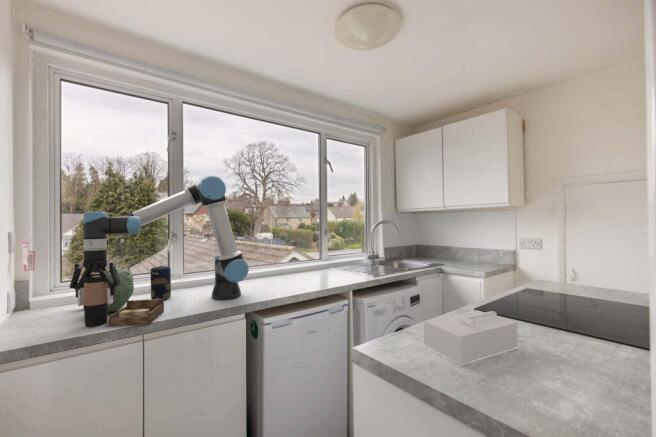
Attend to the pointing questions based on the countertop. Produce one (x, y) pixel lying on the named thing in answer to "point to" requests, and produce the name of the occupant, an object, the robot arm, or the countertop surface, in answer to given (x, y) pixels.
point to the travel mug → (95, 300)
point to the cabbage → (121, 290)
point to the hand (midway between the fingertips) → (95, 304)
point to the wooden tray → (152, 304)
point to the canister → (160, 282)
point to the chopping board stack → (134, 313)
